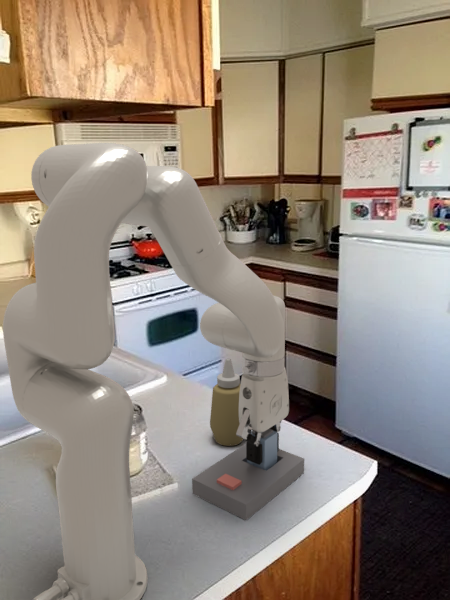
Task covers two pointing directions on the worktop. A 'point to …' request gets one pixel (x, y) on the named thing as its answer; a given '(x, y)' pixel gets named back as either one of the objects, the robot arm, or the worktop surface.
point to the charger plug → (267, 449)
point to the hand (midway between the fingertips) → (262, 454)
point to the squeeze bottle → (226, 407)
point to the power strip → (246, 482)
